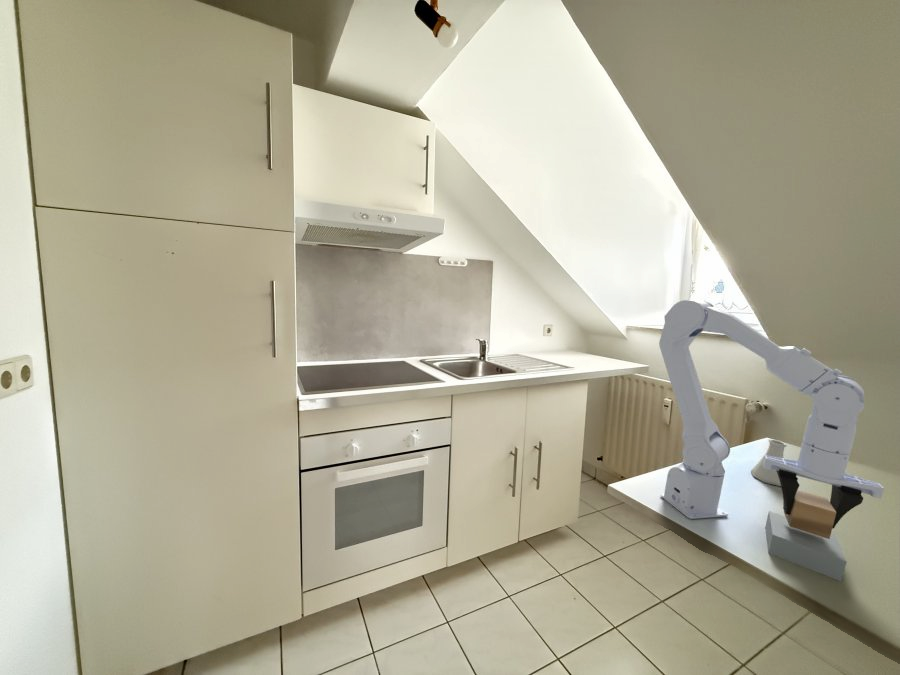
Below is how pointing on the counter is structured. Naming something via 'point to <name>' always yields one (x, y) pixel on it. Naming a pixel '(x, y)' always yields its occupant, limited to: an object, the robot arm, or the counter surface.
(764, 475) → the flask
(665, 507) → the counter surface
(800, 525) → the walnut cube
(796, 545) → the slate block
